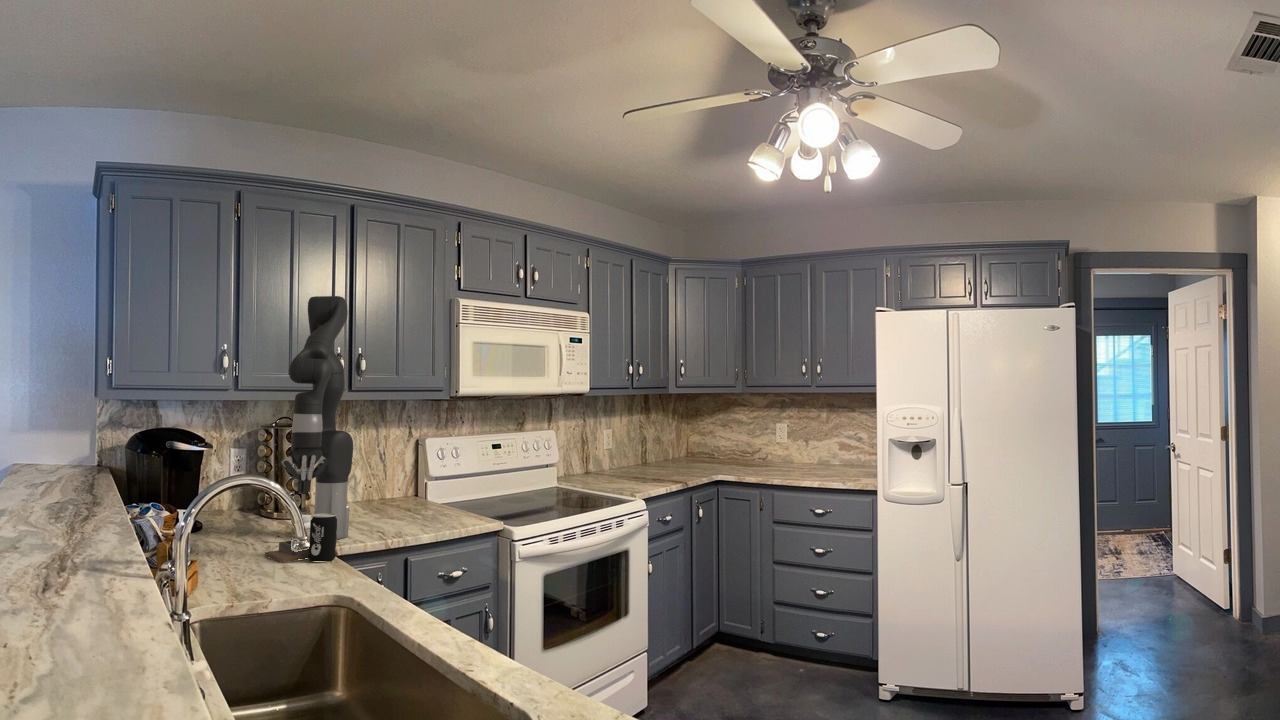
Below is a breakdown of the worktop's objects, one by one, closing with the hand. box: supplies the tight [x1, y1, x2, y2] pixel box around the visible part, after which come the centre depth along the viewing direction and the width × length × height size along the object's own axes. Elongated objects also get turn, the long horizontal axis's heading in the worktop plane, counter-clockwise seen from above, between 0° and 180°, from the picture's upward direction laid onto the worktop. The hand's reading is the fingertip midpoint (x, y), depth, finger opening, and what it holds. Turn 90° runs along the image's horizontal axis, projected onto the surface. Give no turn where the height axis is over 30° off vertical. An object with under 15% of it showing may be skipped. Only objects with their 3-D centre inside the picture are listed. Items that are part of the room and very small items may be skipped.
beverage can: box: [308, 513, 338, 562], centre depth 186 cm, size 7×7×12 cm
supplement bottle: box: [290, 514, 312, 541], centre depth 192 cm, size 5×5×10 cm
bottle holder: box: [264, 540, 309, 563], centre depth 191 cm, size 14×11×4 cm
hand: (303, 493), depth 192 cm, fingers closed
